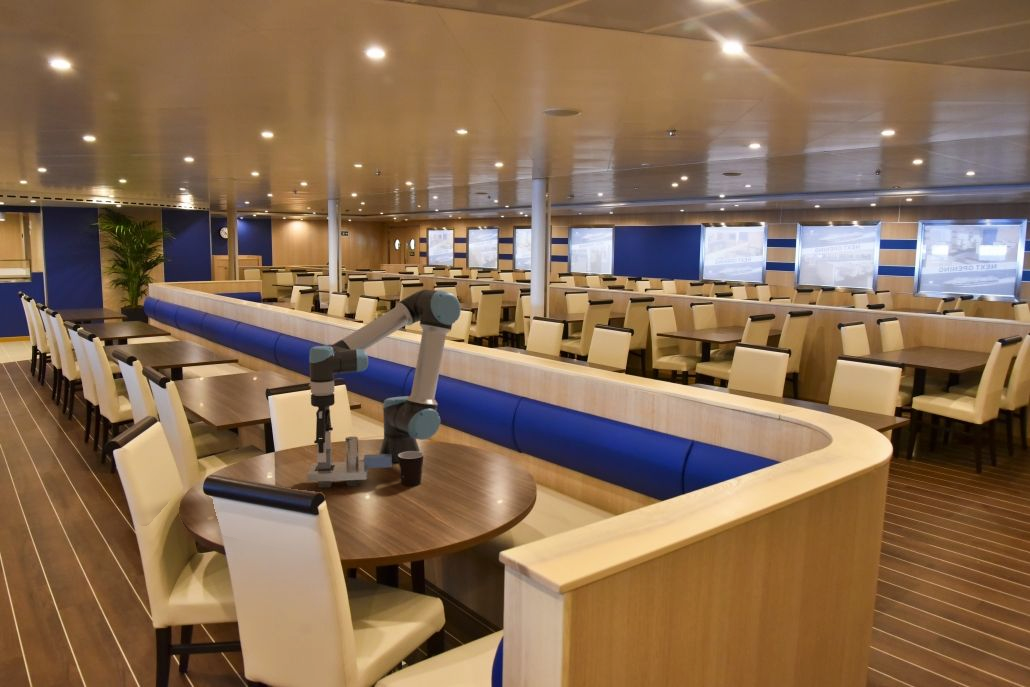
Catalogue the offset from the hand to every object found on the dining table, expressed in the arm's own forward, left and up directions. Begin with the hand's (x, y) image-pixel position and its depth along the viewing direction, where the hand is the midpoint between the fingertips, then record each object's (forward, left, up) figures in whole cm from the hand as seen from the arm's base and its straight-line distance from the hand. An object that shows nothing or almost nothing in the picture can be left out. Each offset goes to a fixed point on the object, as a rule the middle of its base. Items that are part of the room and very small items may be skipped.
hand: (324, 455), depth 233 cm
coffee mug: (-29, 0, -10) cm, 31 cm away
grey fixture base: (-9, 0, -10) cm, 14 cm away
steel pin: (0, 0, -10) cm, 10 cm away
